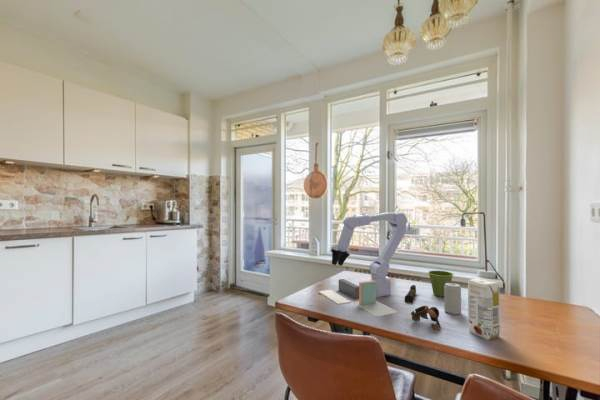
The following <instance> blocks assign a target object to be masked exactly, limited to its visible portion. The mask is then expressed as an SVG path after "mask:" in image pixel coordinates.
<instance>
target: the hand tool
mask: <svg viewBox="0 0 600 400" xmlns="http://www.w3.org/2000/svg"><path fill="white" fill-rule="evenodd" d="M416 295H417V286H416V284H412V285H411V286H410V288H409V291H408V292H407V293H406V295H405V296H404V302H406V303H411V304H413V303H414V299H415V296H416Z"/></svg>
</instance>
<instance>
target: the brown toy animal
mask: <svg viewBox="0 0 600 400" xmlns="http://www.w3.org/2000/svg"><path fill="white" fill-rule="evenodd" d="M410 315H411V321H415V322H418V323H420V318H421V319H424V320H428V319H429V317H428V315H429V316H430V321H432V322H434V324H433V327H434V330H435V332H437V331H439V330H440V329H441V325H440V324H441V323H440V321H439V316H440V311H439V308H437V307H436V306H432V307H430V308H429V306H428V305H422V306H419V307H417V308H415V309H414V310H412V311H411V312H410Z"/></svg>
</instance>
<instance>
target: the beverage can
mask: <svg viewBox="0 0 600 400" xmlns="http://www.w3.org/2000/svg"><path fill="white" fill-rule="evenodd" d="M443 303H444V304H443V305H444V306H443V307H444V308H443V309H444V311H445V312H446V313H448V314H450V315H460V314H461V313H462V288H461V285H460V284H458V283H455V282H451V283H445V286H444V296H443Z"/></svg>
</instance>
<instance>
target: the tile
mask: <svg viewBox="0 0 600 400" xmlns="http://www.w3.org/2000/svg"><path fill="white" fill-rule="evenodd" d="M358 286H359V298H358V300H359V302H358V303H359V304H360V305H367V304H373V303H376V301H377V297H376V281H374V280H372V281H371V280H365V281H359V282H358Z"/></svg>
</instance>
